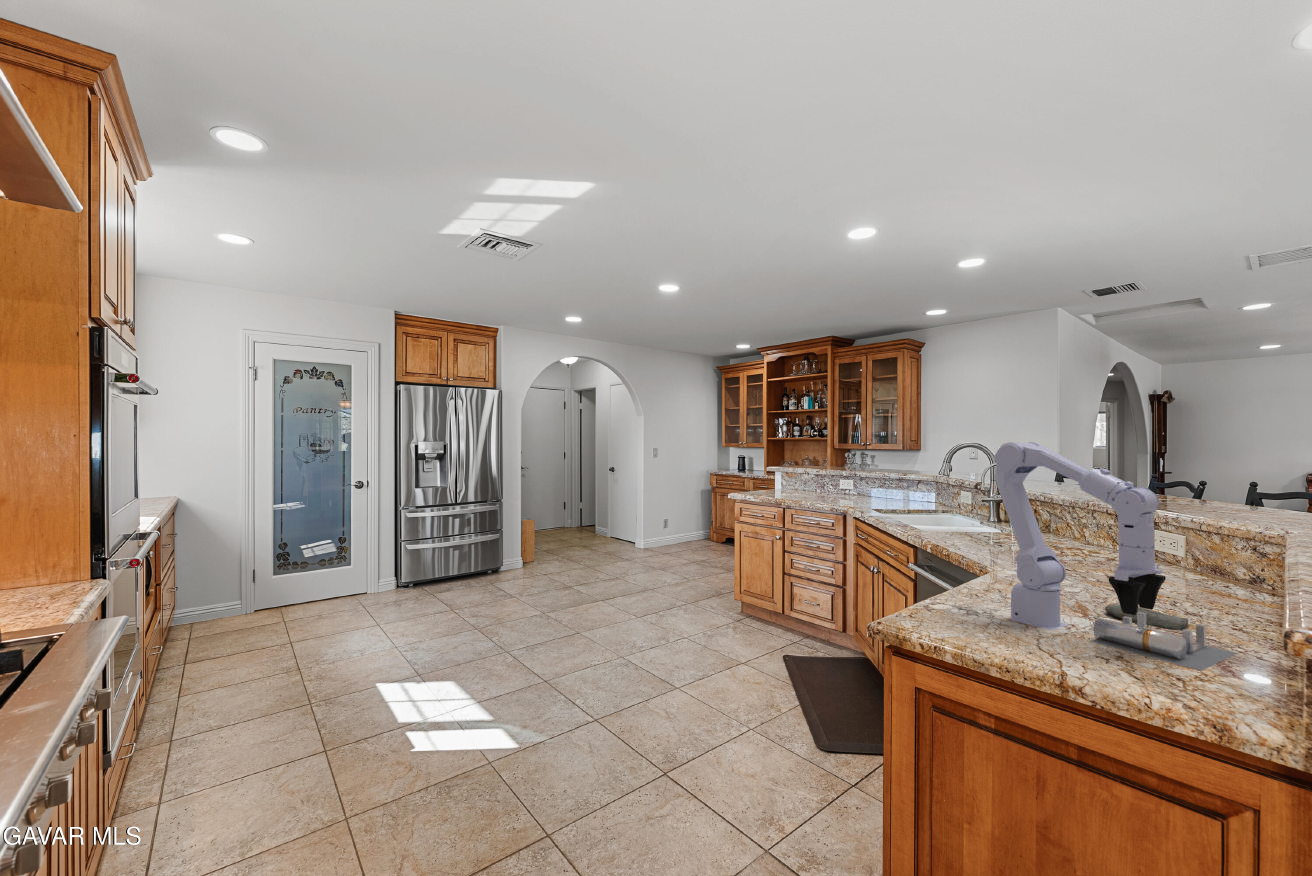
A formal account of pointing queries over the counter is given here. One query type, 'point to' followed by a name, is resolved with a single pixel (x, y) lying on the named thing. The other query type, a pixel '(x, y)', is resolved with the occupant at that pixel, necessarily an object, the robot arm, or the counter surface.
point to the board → (1194, 660)
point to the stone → (1151, 618)
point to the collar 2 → (1199, 639)
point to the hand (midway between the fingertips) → (1137, 611)
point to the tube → (1141, 638)
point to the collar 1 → (1140, 620)
